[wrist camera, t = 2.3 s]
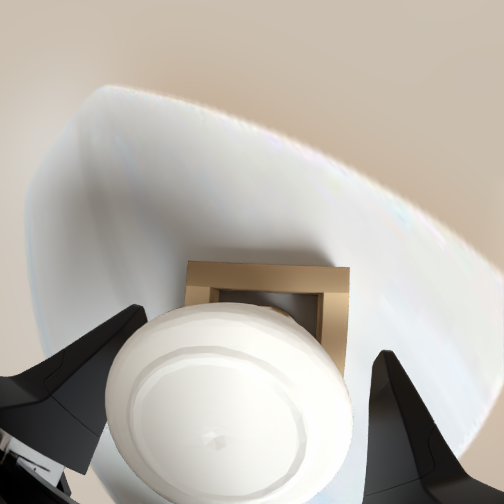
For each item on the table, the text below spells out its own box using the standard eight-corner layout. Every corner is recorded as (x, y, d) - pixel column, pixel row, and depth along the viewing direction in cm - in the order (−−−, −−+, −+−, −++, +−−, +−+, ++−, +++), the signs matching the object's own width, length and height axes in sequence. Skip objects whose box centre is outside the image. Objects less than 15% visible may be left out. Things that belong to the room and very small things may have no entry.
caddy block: (330, 409, 15) (337, 424, 13) (193, 399, 16) (180, 411, 14) (340, 272, 17) (349, 267, 15) (200, 267, 18) (188, 260, 16)
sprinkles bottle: (240, 297, 17) (121, 266, 4) (310, 315, 17) (397, 340, 4) (221, 365, 17) (90, 471, 4) (291, 384, 16) (302, 543, 3)
